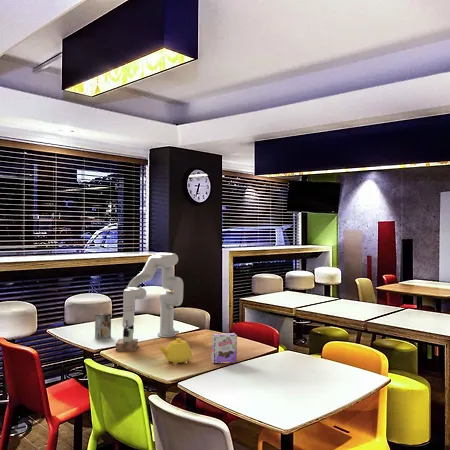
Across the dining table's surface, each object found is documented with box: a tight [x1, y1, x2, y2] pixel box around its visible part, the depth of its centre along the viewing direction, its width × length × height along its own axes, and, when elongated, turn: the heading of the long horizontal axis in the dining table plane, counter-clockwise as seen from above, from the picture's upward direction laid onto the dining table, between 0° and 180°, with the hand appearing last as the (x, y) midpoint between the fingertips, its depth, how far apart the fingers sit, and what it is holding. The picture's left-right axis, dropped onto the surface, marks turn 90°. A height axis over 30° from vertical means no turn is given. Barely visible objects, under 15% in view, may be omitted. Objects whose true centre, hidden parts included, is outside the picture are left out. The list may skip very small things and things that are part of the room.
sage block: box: [122, 329, 134, 342], centre depth 292 cm, size 5×5×7 cm
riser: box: [115, 338, 139, 352], centre depth 291 cm, size 12×12×5 cm
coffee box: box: [94, 312, 112, 340], centre depth 318 cm, size 9×6×16 cm
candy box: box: [210, 332, 238, 363], centre depth 266 cm, size 14×6×16 cm, turn 105°
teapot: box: [158, 337, 193, 365], centre depth 263 cm, size 20×16×14 cm
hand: (128, 334), depth 292 cm, fingers open, 9 cm apart
